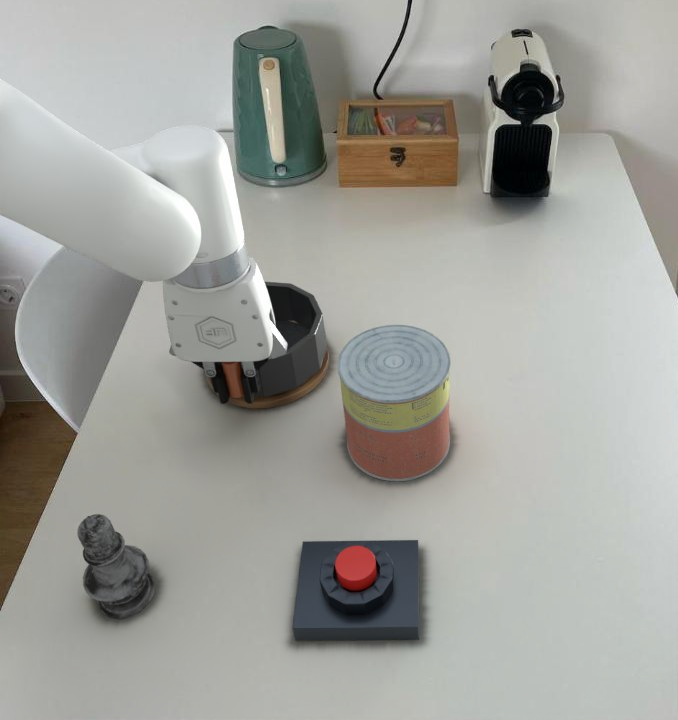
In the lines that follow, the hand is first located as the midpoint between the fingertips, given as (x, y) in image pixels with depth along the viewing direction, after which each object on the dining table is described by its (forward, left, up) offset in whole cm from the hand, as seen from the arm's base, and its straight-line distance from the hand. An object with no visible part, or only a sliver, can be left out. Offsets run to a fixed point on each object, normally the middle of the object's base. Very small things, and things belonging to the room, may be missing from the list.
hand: (239, 394), depth 90 cm
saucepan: (+5, +6, -3) cm, 8 cm away
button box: (+2, -27, -4) cm, 27 cm away
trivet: (+6, +7, -4) cm, 10 cm away
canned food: (+14, -12, -4) cm, 18 cm away
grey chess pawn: (-17, -16, -4) cm, 24 cm away
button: (+2, -27, 0) cm, 27 cm away
